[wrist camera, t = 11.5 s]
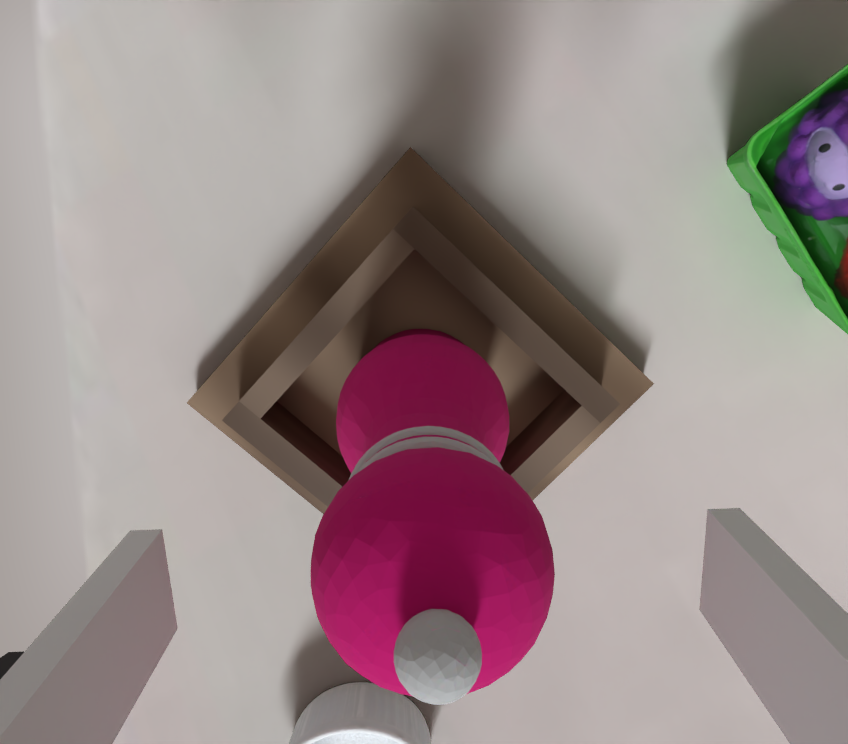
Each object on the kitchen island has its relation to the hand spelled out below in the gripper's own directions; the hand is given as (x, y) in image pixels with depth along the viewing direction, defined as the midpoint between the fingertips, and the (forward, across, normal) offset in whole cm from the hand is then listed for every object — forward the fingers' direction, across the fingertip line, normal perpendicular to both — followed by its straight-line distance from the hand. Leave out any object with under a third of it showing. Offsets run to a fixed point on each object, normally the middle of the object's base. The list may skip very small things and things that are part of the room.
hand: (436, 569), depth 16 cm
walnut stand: (+18, 0, 0) cm, 18 cm away
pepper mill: (+16, 0, 0) cm, 17 cm away
